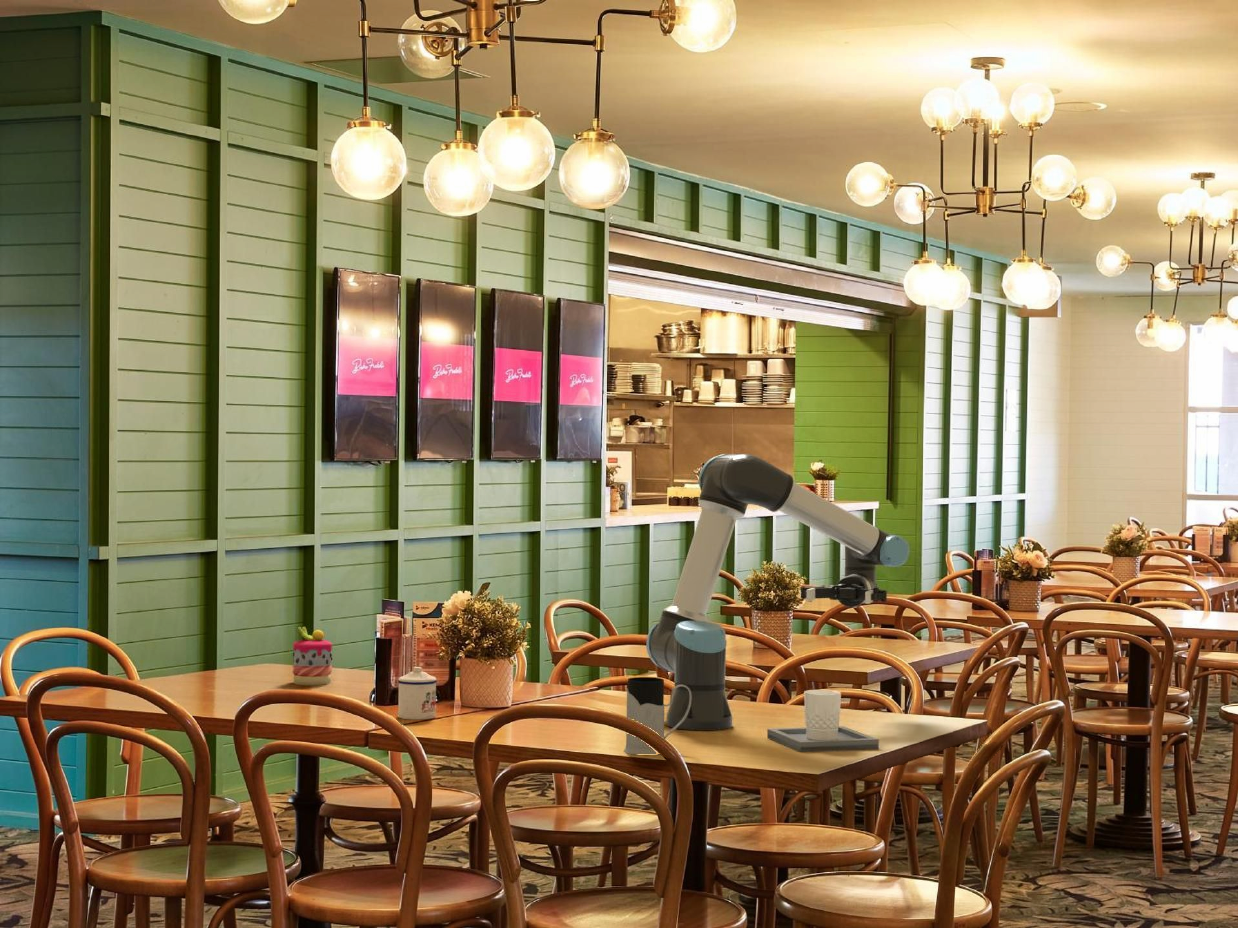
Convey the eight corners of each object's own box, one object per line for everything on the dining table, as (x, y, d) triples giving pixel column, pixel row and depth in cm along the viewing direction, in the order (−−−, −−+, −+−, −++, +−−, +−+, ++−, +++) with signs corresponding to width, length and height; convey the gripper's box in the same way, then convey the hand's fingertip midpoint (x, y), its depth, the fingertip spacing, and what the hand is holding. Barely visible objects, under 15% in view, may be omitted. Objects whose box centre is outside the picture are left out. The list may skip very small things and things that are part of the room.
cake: (332, 680, 434) (333, 625, 434) (330, 685, 424) (331, 629, 424) (293, 680, 433) (294, 625, 433) (290, 685, 423) (291, 629, 423)
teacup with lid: (428, 720, 366) (429, 670, 366) (391, 718, 368) (392, 668, 368) (446, 713, 377) (447, 664, 377) (410, 711, 379) (411, 662, 380)
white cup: (839, 742, 338) (839, 695, 338) (801, 740, 340) (802, 693, 340) (841, 736, 346) (842, 690, 346) (805, 734, 347) (805, 688, 347)
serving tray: (800, 751, 331) (800, 742, 331) (767, 737, 349) (767, 728, 349) (878, 748, 337) (878, 739, 337) (842, 734, 354) (842, 725, 354)
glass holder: (619, 748, 332) (620, 676, 332) (685, 746, 336) (686, 675, 336) (629, 755, 324) (630, 682, 324) (696, 754, 327) (697, 681, 327)
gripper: (904, 608, 381) (891, 615, 361) (802, 604, 389) (783, 610, 369) (905, 576, 381) (892, 582, 361) (802, 573, 389) (784, 578, 369)
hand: (837, 596), depth 365 cm, fingers open, 13 cm apart
